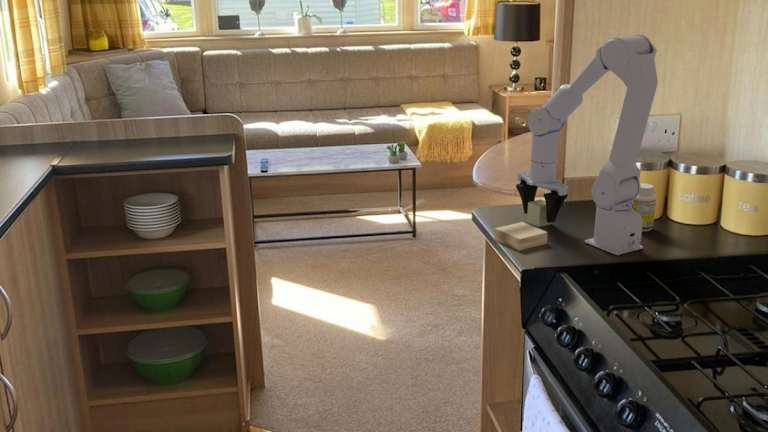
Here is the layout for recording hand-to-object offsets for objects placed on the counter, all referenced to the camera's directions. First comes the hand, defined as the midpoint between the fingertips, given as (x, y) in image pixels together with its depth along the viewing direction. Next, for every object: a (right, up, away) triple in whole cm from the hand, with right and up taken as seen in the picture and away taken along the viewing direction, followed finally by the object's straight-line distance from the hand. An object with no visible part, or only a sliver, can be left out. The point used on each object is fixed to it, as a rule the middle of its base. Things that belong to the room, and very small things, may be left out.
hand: (539, 217), depth 184 cm
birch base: (-6, -6, -11) cm, 14 cm away
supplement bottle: (+22, -3, -3) cm, 23 cm away
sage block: (0, -1, 0) cm, 2 cm away
